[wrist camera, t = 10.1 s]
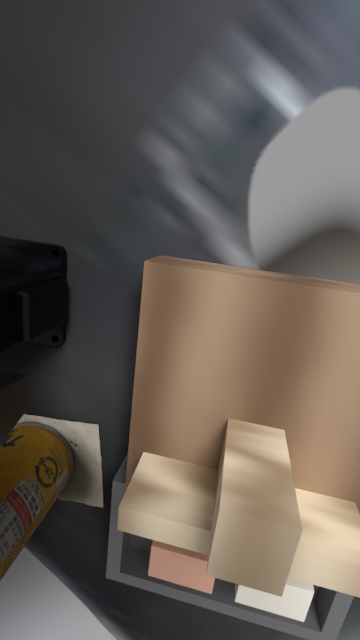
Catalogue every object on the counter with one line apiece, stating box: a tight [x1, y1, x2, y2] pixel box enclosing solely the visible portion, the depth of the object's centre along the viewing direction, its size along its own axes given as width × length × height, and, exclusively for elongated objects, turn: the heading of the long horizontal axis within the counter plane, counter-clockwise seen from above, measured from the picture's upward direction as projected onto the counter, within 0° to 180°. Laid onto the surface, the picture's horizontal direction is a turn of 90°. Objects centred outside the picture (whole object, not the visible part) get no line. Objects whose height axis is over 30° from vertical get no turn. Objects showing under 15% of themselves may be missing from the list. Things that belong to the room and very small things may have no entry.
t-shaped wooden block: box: [117, 418, 360, 598], centre depth 16 cm, size 12×5×6 cm, turn 83°
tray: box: [106, 455, 354, 640], centre depth 23 cm, size 16×9×2 cm, turn 83°
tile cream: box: [235, 578, 314, 622], centre depth 21 cm, size 4×4×2 cm
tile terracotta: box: [148, 540, 215, 594], centre depth 22 cm, size 4×4×2 cm
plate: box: [125, 255, 360, 514], centre depth 19 cm, size 14×14×3 cm
